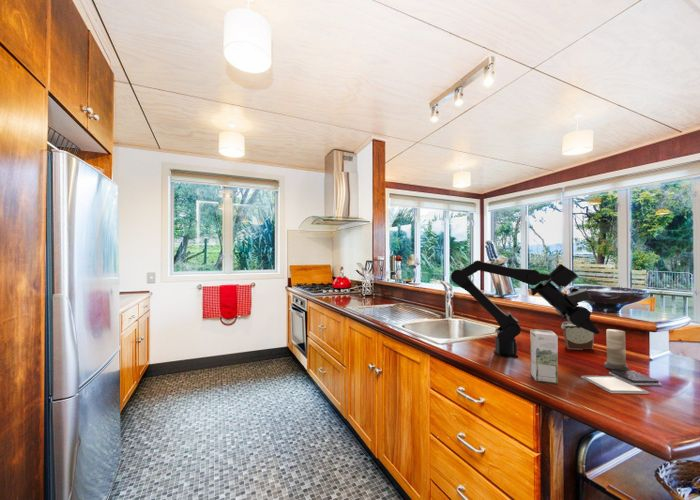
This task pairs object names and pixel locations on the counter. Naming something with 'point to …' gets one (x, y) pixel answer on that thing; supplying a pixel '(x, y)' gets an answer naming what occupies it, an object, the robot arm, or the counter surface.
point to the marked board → (614, 384)
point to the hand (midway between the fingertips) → (592, 330)
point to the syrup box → (544, 356)
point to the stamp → (616, 350)
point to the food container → (577, 337)
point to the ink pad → (635, 378)
